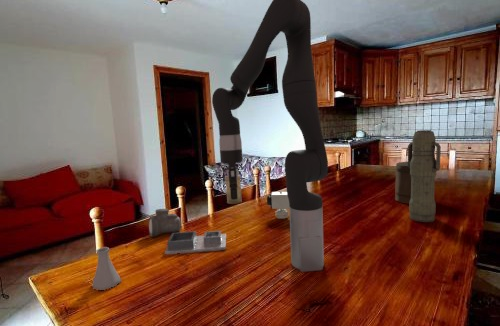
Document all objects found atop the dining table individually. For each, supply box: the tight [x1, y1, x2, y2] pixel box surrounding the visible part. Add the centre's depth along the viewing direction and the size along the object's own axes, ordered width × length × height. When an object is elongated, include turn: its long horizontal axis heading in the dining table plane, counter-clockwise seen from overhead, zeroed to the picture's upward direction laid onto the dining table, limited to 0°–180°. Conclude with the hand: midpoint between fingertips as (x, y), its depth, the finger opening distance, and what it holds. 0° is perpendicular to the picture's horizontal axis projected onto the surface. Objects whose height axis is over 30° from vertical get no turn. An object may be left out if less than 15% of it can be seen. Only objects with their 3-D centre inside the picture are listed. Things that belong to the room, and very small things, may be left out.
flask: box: [92, 246, 122, 291], centre depth 79 cm, size 7×7×10 cm
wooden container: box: [394, 161, 411, 205], centre depth 140 cm, size 15×15×22 cm
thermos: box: [407, 129, 442, 223], centre depth 114 cm, size 9×12×35 cm
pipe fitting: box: [148, 208, 182, 238], centre depth 115 cm, size 12×8×10 cm
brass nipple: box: [224, 174, 243, 205], centre depth 100 cm, size 6×6×9 cm
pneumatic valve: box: [266, 190, 289, 220], centre depth 126 cm, size 6×12×12 cm, turn 78°
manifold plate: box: [164, 230, 227, 255], centre depth 102 cm, size 12×20×4 cm, turn 94°
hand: (234, 197), depth 101 cm, fingers closed on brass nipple, 5 cm apart
